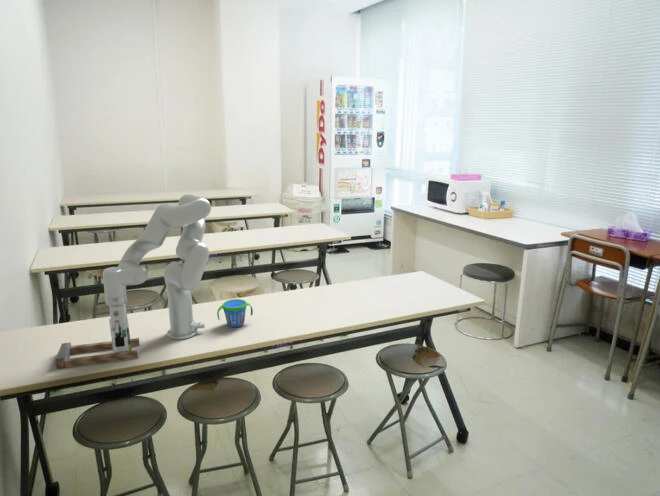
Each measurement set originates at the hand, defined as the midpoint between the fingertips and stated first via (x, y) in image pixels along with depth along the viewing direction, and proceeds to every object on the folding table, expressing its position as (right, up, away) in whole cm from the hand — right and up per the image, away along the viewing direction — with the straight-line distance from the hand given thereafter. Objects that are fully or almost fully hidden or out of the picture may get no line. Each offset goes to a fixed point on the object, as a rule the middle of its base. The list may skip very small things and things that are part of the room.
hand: (121, 341), depth 191 cm
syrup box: (0, -5, +1) cm, 5 cm away
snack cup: (+39, +2, +28) cm, 49 cm away
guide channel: (-8, -5, -1) cm, 9 cm away
